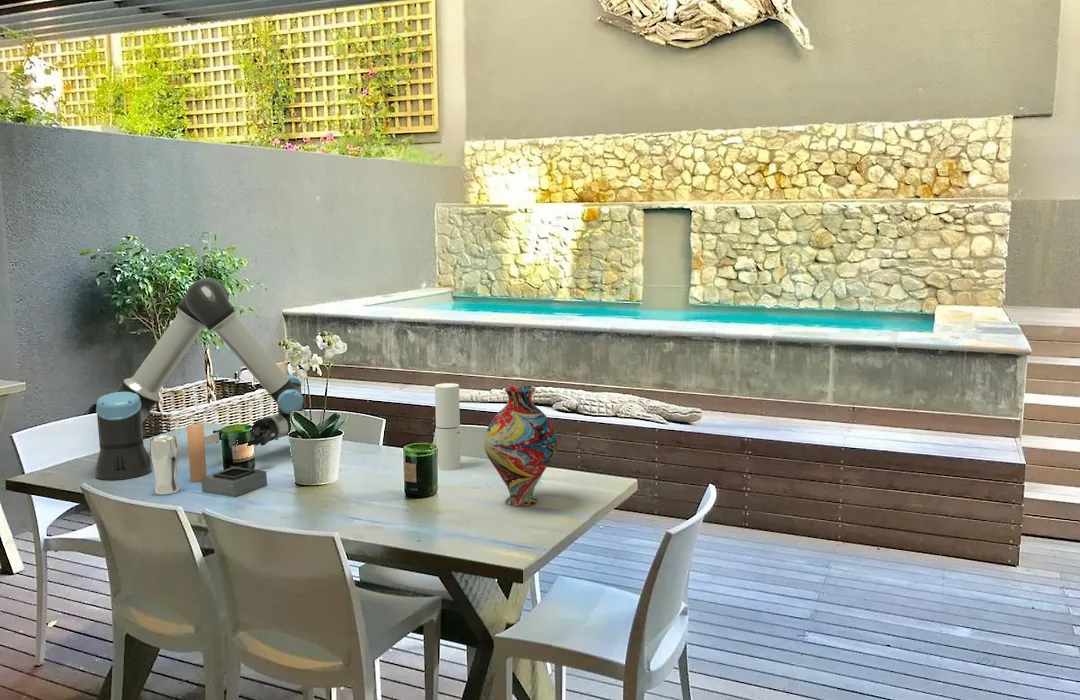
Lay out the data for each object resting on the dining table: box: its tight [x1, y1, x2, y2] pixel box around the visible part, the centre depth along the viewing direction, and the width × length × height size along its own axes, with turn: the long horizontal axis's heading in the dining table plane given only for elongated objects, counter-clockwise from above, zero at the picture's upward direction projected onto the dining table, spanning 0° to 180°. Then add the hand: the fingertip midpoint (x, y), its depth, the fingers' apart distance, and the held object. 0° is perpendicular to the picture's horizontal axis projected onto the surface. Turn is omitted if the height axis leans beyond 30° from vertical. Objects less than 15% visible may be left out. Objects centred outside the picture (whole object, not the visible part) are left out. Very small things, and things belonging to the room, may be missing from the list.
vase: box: [483, 385, 558, 507], centre depth 220 cm, size 19×19×30 cm
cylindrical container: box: [434, 382, 462, 471], centre depth 254 cm, size 7×7×25 cm
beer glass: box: [149, 435, 180, 496], centre depth 232 cm, size 7×7×15 cm
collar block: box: [201, 466, 268, 498], centre depth 235 cm, size 12×12×4 cm
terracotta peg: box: [186, 423, 208, 483], centre depth 243 cm, size 4×4×16 cm
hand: (218, 443), depth 249 cm, fingers open, 13 cm apart
